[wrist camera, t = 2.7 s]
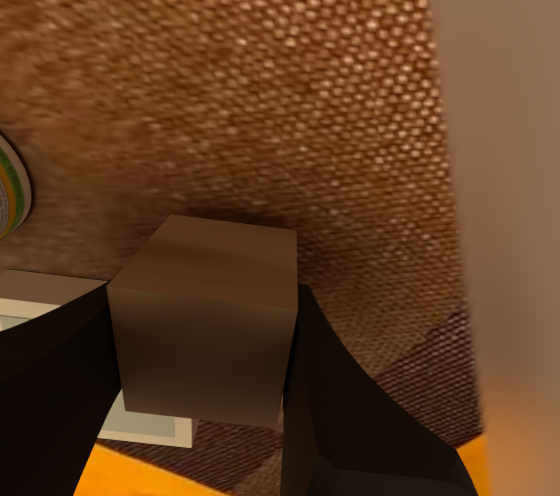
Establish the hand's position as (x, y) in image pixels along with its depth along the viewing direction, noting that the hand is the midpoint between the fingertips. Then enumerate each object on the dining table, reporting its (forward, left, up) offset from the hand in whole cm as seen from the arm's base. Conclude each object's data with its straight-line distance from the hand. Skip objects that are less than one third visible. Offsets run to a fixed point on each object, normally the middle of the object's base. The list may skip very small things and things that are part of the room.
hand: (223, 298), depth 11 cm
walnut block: (0, 0, -2) cm, 2 cm away
